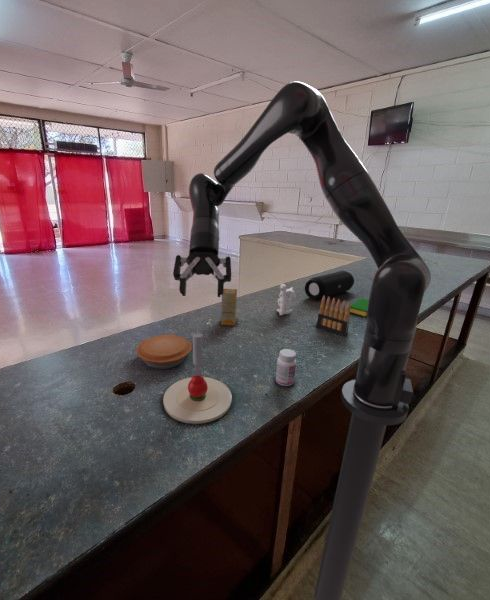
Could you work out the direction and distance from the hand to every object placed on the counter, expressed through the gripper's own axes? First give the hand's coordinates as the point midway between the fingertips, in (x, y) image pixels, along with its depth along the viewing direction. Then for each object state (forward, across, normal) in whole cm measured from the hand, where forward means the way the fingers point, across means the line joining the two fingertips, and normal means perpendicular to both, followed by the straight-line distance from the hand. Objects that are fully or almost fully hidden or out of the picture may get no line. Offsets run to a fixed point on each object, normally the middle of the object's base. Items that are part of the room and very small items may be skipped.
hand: (201, 295), depth 76 cm
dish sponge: (-19, +63, +51) cm, 83 cm away
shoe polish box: (-8, +7, +40) cm, 41 cm away
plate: (+23, 0, +9) cm, 25 cm away
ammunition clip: (-5, +43, +37) cm, 57 cm away
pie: (+11, -11, +21) cm, 26 cm away
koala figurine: (-15, +29, +47) cm, 57 cm away
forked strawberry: (+22, 0, +8) cm, 24 cm away
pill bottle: (+17, +22, +15) cm, 31 cm away
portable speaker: (-31, +53, +63) cm, 88 cm away
